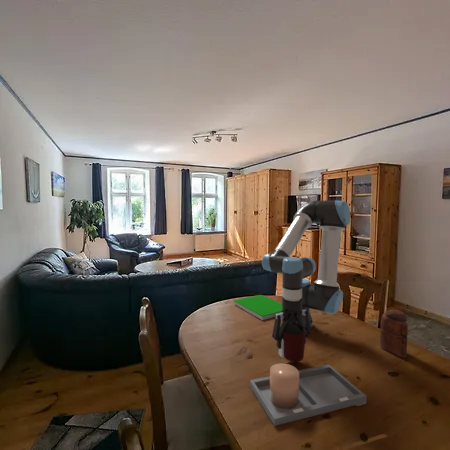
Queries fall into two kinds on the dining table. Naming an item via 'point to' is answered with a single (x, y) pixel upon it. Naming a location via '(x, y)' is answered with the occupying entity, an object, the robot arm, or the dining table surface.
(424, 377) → the dining table surface
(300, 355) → the mug
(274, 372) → the peach rounded cylinder
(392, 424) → the dining table surface
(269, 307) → the book
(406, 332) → the brown leather pouch
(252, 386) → the holder
